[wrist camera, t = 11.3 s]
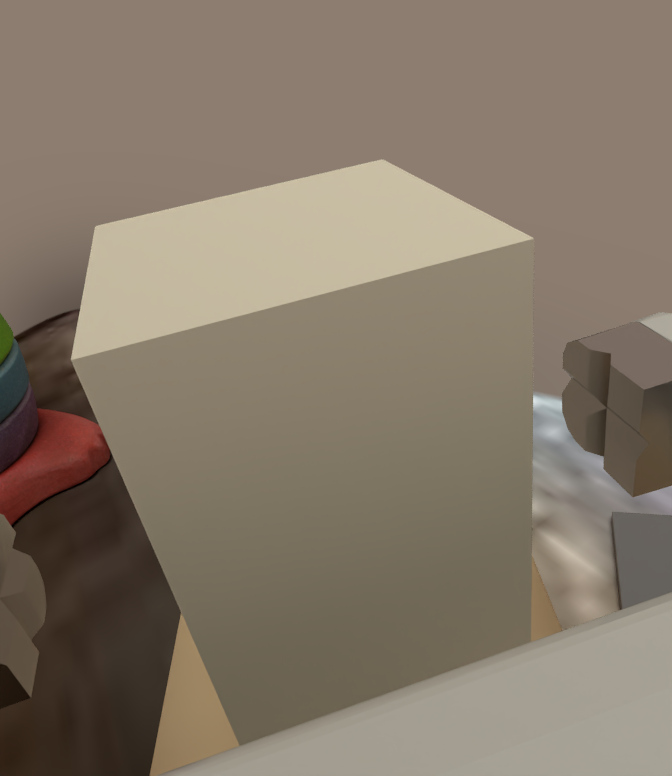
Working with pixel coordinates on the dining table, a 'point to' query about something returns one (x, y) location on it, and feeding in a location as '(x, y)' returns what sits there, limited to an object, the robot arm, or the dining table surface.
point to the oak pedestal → (205, 712)
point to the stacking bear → (38, 440)
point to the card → (642, 556)
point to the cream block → (323, 430)
